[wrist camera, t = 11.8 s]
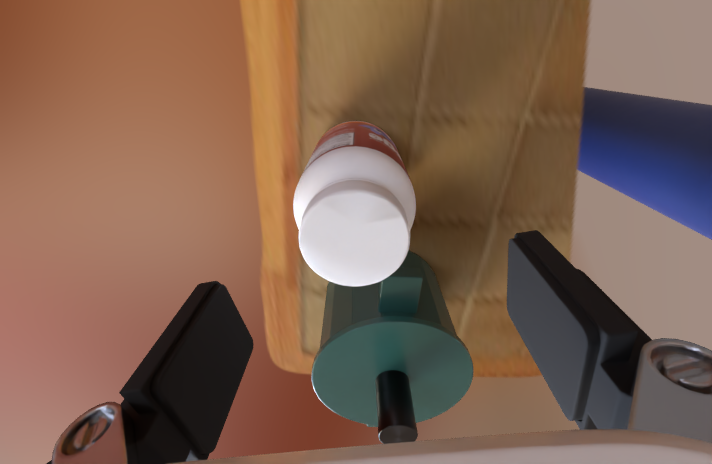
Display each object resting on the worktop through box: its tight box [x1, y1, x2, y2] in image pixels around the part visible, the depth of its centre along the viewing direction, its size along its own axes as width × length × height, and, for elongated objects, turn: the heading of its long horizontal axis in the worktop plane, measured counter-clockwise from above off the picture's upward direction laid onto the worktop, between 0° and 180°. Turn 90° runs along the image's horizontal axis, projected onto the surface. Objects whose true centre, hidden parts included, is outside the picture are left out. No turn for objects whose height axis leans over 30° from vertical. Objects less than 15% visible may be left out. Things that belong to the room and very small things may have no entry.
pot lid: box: [312, 316, 473, 444], centre depth 20 cm, size 11×11×5 cm
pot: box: [320, 251, 457, 427], centre depth 25 cm, size 10×15×8 cm, turn 178°
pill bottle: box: [293, 121, 416, 286], centre depth 18 cm, size 6×6×11 cm
